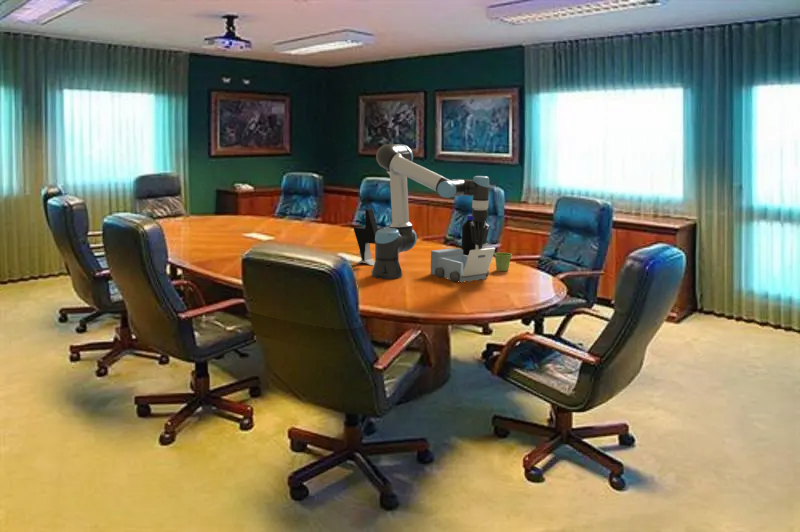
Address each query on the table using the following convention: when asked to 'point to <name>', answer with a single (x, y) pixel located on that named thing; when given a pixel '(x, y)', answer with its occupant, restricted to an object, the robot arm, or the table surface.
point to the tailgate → (478, 262)
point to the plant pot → (502, 261)
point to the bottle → (467, 237)
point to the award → (366, 237)
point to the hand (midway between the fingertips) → (478, 258)
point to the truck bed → (451, 265)
